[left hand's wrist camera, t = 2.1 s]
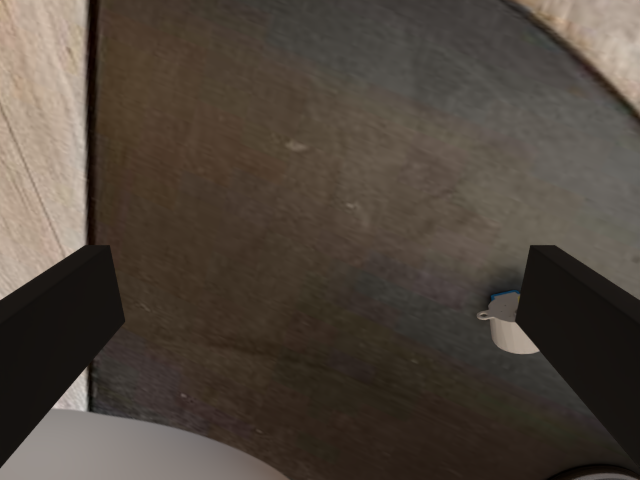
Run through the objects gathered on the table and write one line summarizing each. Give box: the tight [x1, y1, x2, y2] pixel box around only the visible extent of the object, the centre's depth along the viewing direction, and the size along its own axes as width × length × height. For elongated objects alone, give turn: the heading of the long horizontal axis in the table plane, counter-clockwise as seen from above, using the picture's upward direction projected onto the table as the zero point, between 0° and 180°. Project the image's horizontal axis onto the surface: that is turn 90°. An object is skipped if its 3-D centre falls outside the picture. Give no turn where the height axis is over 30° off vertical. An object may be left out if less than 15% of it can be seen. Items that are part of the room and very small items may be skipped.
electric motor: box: [477, 290, 539, 354], centre depth 34 cm, size 7×5×5 cm
